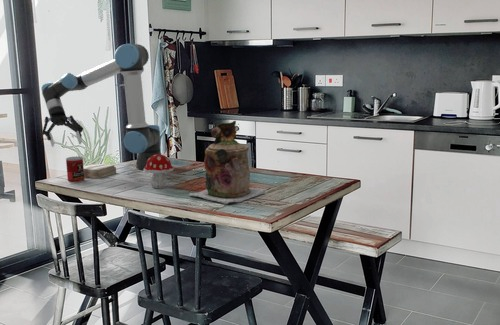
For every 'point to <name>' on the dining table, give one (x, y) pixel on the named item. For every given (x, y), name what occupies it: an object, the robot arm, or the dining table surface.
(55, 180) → the dining table surface
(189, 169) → the dining table surface
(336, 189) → the dining table surface
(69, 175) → the canned food
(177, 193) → the dining table surface
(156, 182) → the decorative mushroom
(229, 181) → the cookie jar
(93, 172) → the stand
